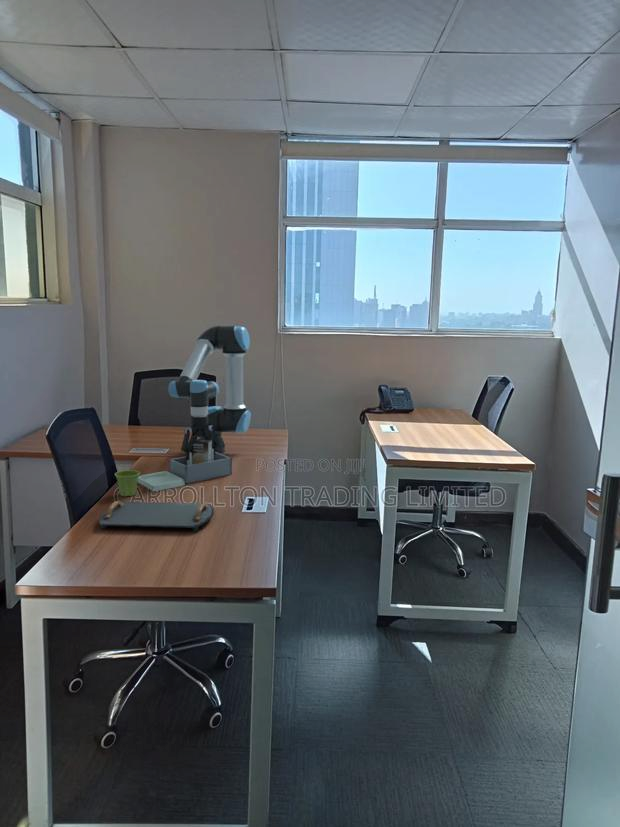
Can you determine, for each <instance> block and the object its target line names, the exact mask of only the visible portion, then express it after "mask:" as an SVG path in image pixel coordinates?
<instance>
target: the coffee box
mask: <svg viewBox="0 0 620 827" xmlns="http://www.w3.org/2000/svg"><path fill="white" fill-rule="evenodd" d="M188 442H190V441H188ZM190 452H191V453H192V465H193V464H198V463H204V462H209V461H212V439H209V440H208V439H199V437H197V439H196V440H195V442H194V444H193V446H192V448H191V450H190Z"/></svg>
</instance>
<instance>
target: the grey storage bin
mask: <svg viewBox="0 0 620 827" xmlns="http://www.w3.org/2000/svg"><path fill="white" fill-rule="evenodd" d="M168 465H169V466H168V467H169V471H168V472H170V473H172V474H174V475H176V476H178V477H180V478H182V479H184V480H185V483H187V484H191V483H190V482H192V483H195V481H196V482H201V481H206V480H210V479H215V478H220V477H224V476H229V475H233V458H232V457H231V456H227V455H224V454H222V453H217V452H215V455H214V461H209V462H204V463H198V464H193V465H187V459H186V458H185V456H181V457H175V458H170V459H168ZM205 479H206V480H205ZM200 480H201V481H200Z"/></svg>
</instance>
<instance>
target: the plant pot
mask: <svg viewBox="0 0 620 827" xmlns="http://www.w3.org/2000/svg"><path fill="white" fill-rule="evenodd" d="M140 474H141V473H140V471H138V470H133V469H132V470H131V469H130V470H120V471H117V472H115V473H114V476H115V478H116V480H117V484H118V490H119V495H120V496H122V497H132V496H135V495H136V494H137V490H138V483H137V481H138V477H139V476H140Z"/></svg>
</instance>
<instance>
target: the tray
mask: <svg viewBox="0 0 620 827" xmlns="http://www.w3.org/2000/svg"><path fill="white" fill-rule="evenodd" d="M137 482H138V483H140V484H142V485H144V486H145V487H147V488H148V489H147V488H146V489H147V490H149V489H150V490H149V491H151V490H152V491H151V492H152V493H155V492H154V491H156V492H159V490H161V491H165V490H170V489H174V488H180V487H183V485H186V484H185V480H184V479H182V478H180V477H178V476H176V475H174V474H172V473H170V472H169V471H167V470H163V471H160V472H159V471H158V472H153V473H147V474H142V475H139V477H138V481H137ZM138 483H137V484H138ZM140 484H139V485H140ZM142 485H141V486H142ZM144 486H143V487H144ZM145 487H144V488H145ZM164 489H165V490H164Z"/></svg>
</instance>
